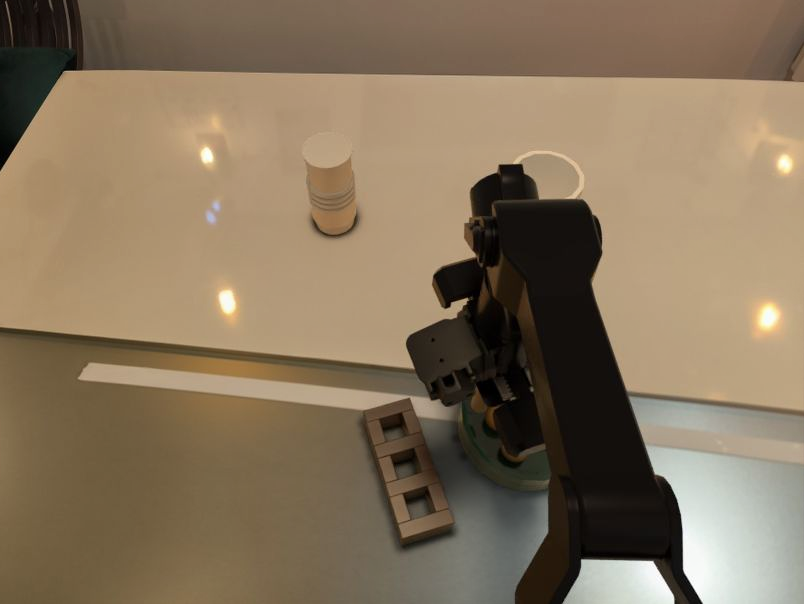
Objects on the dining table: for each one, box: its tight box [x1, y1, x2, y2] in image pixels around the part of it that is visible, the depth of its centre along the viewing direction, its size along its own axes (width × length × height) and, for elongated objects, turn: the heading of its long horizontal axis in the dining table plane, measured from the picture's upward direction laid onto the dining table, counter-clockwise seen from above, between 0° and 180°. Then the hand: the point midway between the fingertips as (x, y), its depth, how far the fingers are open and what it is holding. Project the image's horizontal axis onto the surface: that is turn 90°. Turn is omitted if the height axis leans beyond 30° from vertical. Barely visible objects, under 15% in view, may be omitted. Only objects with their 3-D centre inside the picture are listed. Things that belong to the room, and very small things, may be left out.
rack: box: [362, 397, 455, 546], centre depth 69 cm, size 14×6×4 cm, turn 15°
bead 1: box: [485, 406, 500, 431], centre depth 72 cm, size 3×3×3 cm
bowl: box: [457, 384, 551, 492], centre depth 71 cm, size 14×14×5 cm
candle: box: [301, 131, 357, 236], centre depth 87 cm, size 7×7×15 cm
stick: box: [471, 386, 487, 412], centre depth 63 cm, size 2×2×11 cm
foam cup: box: [512, 150, 585, 199], centre depth 83 cm, size 10×9×13 cm
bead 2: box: [501, 444, 527, 463], centre depth 69 cm, size 3×3×3 cm
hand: (486, 383), depth 62 cm, fingers closed on stick, 2 cm apart
